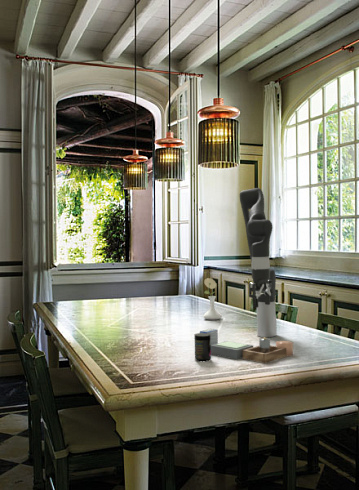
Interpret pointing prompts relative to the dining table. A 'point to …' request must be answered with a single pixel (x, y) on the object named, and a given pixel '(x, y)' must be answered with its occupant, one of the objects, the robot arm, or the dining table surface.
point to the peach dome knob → (286, 346)
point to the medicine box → (212, 335)
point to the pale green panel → (231, 345)
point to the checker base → (229, 351)
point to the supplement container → (202, 346)
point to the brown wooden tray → (264, 354)
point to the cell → (264, 345)
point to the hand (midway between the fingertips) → (261, 306)
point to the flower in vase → (211, 301)
